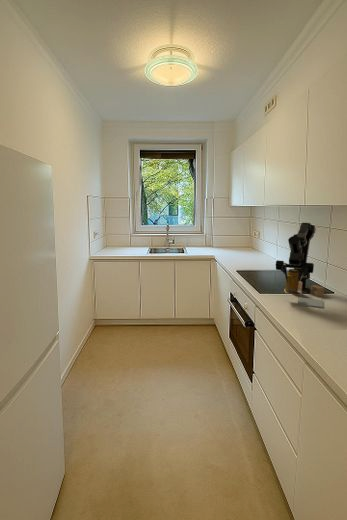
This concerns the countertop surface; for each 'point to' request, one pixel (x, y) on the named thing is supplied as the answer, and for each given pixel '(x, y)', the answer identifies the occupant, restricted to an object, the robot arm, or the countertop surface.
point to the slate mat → (310, 302)
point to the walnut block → (317, 290)
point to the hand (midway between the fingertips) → (292, 280)
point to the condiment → (292, 282)
